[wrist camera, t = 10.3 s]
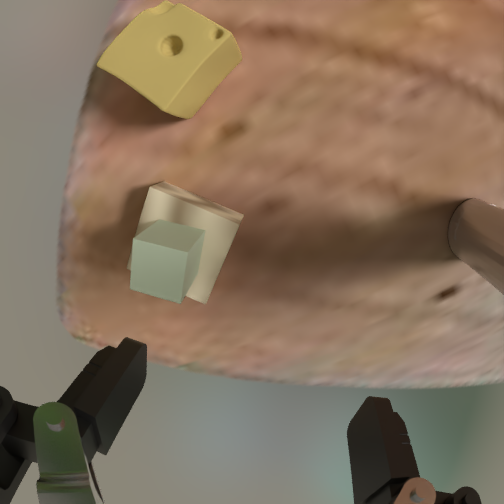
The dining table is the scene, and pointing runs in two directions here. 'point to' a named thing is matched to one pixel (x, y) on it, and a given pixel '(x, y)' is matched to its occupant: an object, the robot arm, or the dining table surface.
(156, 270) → the block
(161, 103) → the cheese
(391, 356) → the dining table surface
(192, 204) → the birch box
